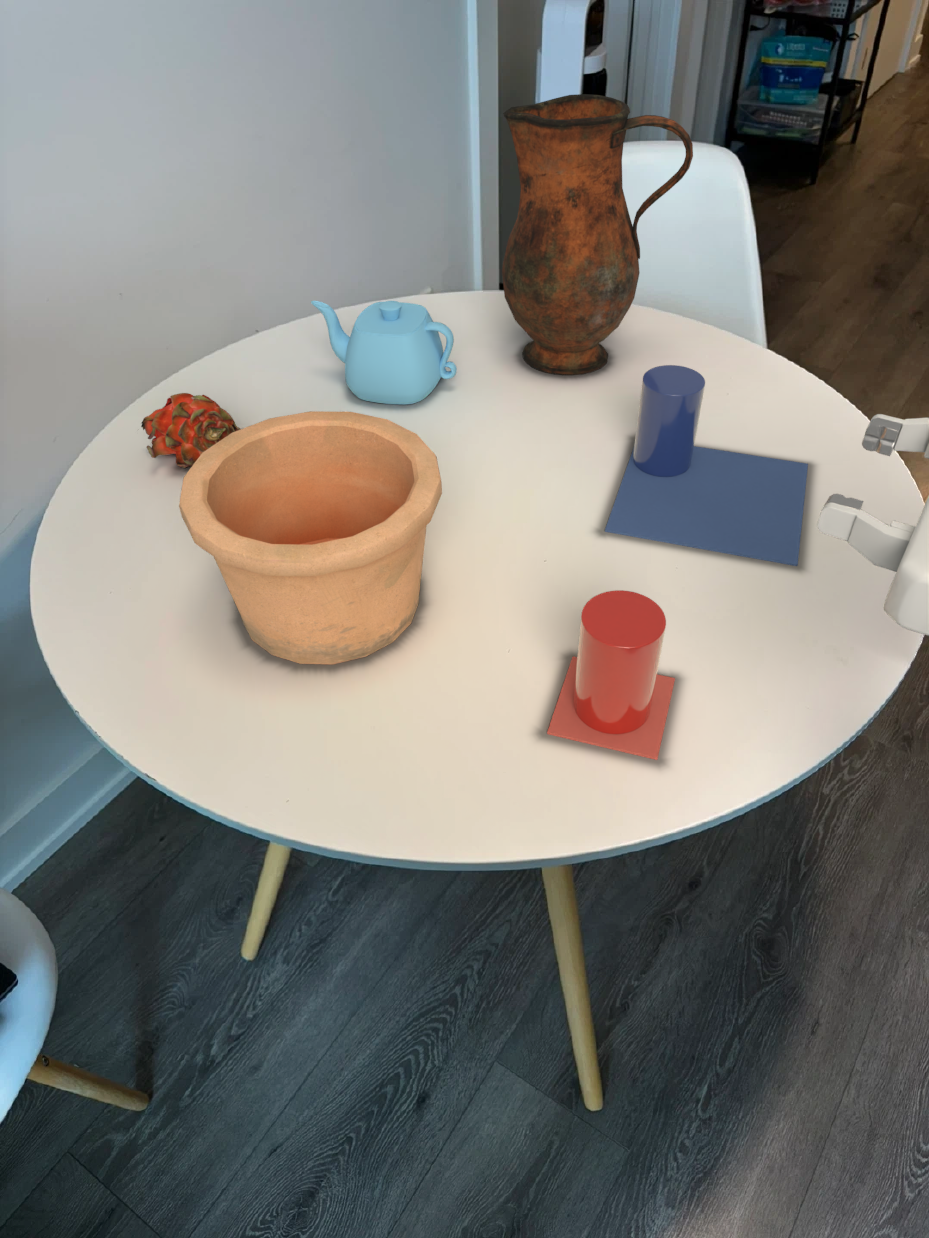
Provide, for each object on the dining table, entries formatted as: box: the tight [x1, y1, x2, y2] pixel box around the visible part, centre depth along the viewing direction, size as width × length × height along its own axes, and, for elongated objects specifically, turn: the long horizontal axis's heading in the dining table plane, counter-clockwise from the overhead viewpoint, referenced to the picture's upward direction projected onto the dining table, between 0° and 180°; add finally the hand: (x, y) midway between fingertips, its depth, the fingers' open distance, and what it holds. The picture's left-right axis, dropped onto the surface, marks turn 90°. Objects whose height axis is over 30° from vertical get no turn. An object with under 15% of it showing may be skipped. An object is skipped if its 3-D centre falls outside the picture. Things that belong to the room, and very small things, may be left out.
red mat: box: [546, 655, 676, 761], centre depth 77 cm, size 9×9×1 cm
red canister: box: [573, 589, 667, 734], centre depth 74 cm, size 6×6×10 cm
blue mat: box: [604, 445, 809, 567], centre depth 98 cm, size 19×18×1 cm
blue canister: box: [633, 364, 706, 477], centre depth 99 cm, size 6×6×10 cm
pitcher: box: [501, 93, 694, 376], centre depth 111 cm, size 17×21×30 cm
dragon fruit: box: [135, 392, 242, 469], centre depth 104 cm, size 8×8×12 cm
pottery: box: [178, 410, 443, 665], centre depth 83 cm, size 22×22×14 cm
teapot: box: [310, 300, 458, 405], centre depth 114 cm, size 13×11×18 cm
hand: (845, 468), depth 53 cm, fingers open, 8 cm apart
